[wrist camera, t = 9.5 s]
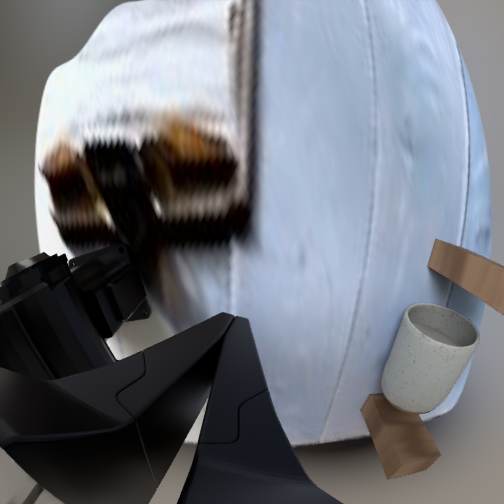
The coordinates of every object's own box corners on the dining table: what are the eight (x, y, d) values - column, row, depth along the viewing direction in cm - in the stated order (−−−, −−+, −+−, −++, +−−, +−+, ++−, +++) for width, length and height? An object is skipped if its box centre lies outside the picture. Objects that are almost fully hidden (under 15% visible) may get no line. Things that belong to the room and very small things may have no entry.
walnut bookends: (360, 409, 25) (387, 479, 15) (435, 238, 20) (517, 276, 10) (395, 408, 25) (426, 469, 15) (469, 250, 20) (542, 286, 10)
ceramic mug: (366, 375, 24) (394, 430, 16) (389, 302, 21) (436, 349, 14) (442, 364, 24) (476, 404, 16) (467, 300, 22) (513, 333, 14)
